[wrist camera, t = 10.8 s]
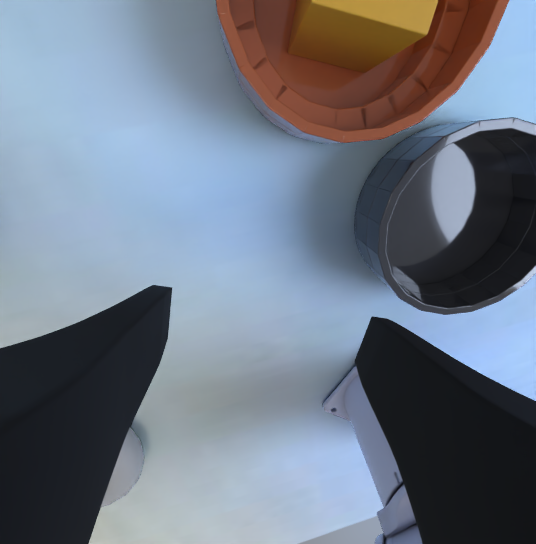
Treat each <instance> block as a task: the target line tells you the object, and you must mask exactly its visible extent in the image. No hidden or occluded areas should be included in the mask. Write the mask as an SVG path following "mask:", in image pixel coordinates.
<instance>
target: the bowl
mask: <svg viewBox="0 0 536 544" xmlns="http://www.w3.org/2000/svg"><path fill="white" fill-rule="evenodd" d="M508 2H509V0H438V3H437V6H436V9H435V12H434V15H433V18H432V21H431V25H430V28H429V31H428V34H427V35H426V36H424V37H423V38H421V39H420V40H418V41H416V42H415V43H413V44H411V45H410V46H408V47H407V48H405V49H403V50H402V51H400V52H398V53H397V54H395V55H393V56H392V57H390V58H389V59H387V60H385V61H384V62H382V63H380V64H379V65H377V66H376V67H374V68H372V69H371V70H369V71H367V72H366V73H363V72H359V71H355V70H351V69H347V68H343V67H340V66H336V65H332V64H328V63H324V62H320V61H316V60H312V59H308V58H305V57H301V56H297V55H293V54H289V53H288V47H289V42H290V36H291V30H292V25H293V19H294V14H295V8H296V3H297V0H216V5H217V13H218V18H219V23H220V28H221V33H222V38H223V42H224V47H225V50H226V52H227V55H228V57H229V60H230V62H231V65H232V68H233V70H234V73H235V75H236V78H237V80H238V83H239V85H240V86H241V88H242V90H243V91H244V92H245V93H246V95H247V96H248V97H249V99H250V100H251V101H252V103H253V104H254V105H255V106H256V108H257V109H258V110H259V112H260V113H261V114H262V115H263V116H264V117H265V118H266V119H268V120H269V121H271V122H272V123H274V124H275V125H277V126H278V127H279V128H281V129H282V130H284V131H285V132H287V133H288V134H290V135H292V136H294V137H298V138H302V139H306V140H310V141H314V142H317V143H321V144H329V143H349V142H359V141H369V140H380V139H384V138H386V137H389V136H391V135H393V134H395V133H398V132H400V131H402V130H404V129H406V128H409V127H411V126H413V125H415V124H418V123H420V122H421V121H423V120H424V119H425V118H427V117H428V116H429V115H430V114H431V113H432V112H434V111H435V110H436V109H437V108H438V107H439V106H441V105H442V104H443V103H444V102H445V101H446V100H448V99H449V98H450V97H451V96H452V95H454V94H455V93H456V92H457V91H458V90H459V89H460V87H461V86H462V84H463V83H464V82H465V80H466V79H467V78H468V76H469V75H470V73H471V72H472V71H473V69H474V68H475V66H476V65H477V64H478V62H479V61H480V59H481V58H482V57H483V55H484V54H485V52H486V51H487V50H488V48H489V46H490V45H491V42H492V40H493V37H494V35H495V33H496V30H497V28H498V26H499V23H500V21H501V19H502V16H503V14H504V11H505V9H506V7H507V4H508Z"/></svg>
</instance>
